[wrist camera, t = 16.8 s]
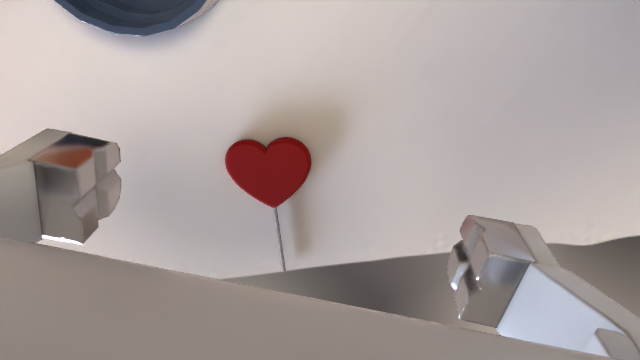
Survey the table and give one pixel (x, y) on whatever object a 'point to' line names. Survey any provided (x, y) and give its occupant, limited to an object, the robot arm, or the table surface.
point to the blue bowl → (136, 14)
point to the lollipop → (269, 172)
